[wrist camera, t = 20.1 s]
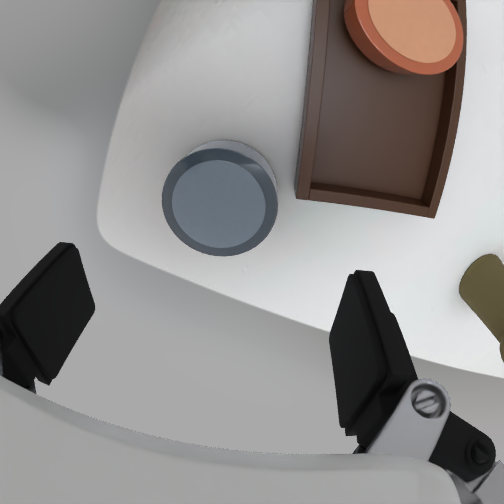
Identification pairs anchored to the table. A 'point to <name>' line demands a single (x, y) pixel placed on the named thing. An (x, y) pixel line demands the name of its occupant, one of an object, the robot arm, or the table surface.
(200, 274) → the table surface
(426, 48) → the terracotta dish
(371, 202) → the tray
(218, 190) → the slate dish
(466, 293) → the pepper shaker
